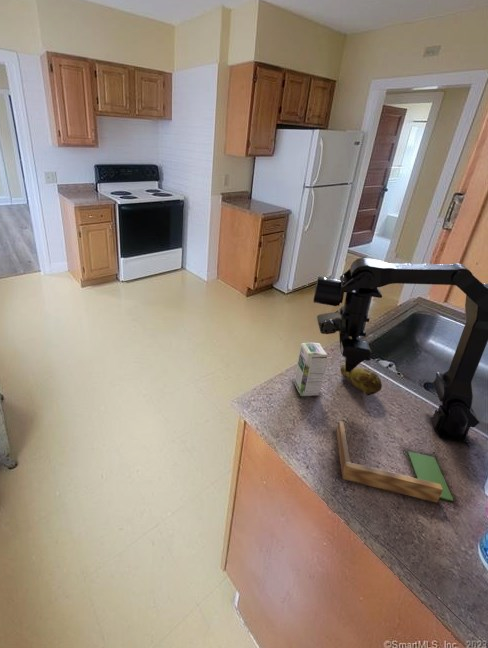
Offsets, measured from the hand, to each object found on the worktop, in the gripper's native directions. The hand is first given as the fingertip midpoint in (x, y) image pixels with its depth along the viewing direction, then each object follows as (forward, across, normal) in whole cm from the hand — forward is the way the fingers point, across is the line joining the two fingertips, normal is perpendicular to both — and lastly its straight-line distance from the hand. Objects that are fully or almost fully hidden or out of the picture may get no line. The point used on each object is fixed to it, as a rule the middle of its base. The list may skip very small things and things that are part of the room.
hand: (344, 360), depth 86 cm
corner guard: (+14, +18, +8) cm, 24 cm away
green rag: (+14, +18, +17) cm, 29 cm away
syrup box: (+14, -3, -8) cm, 17 cm away
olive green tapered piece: (+14, -8, +7) cm, 18 cm away
